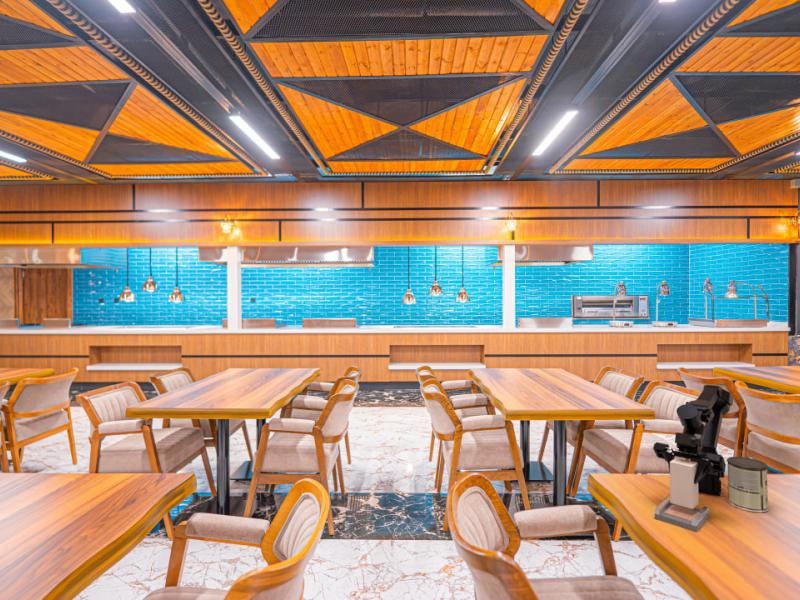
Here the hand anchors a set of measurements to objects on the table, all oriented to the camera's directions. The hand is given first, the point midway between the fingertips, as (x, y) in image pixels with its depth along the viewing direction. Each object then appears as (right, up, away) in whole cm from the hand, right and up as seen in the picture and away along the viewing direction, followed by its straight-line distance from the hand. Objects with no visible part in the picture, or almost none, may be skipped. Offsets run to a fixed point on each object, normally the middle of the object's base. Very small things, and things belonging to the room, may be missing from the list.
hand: (682, 480), depth 135 cm
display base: (-1, -11, -1) cm, 11 cm away
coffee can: (+25, -11, +7) cm, 29 cm away
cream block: (+1, -7, +1) cm, 7 cm away
